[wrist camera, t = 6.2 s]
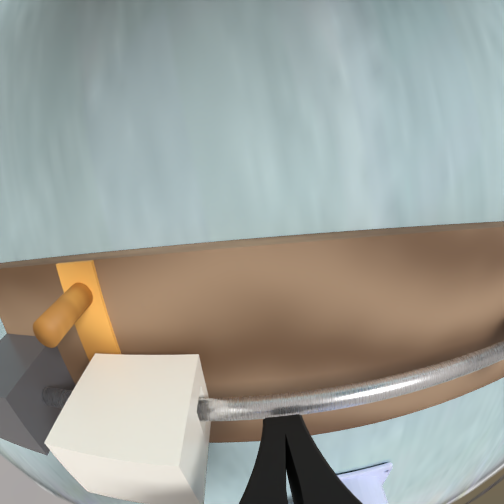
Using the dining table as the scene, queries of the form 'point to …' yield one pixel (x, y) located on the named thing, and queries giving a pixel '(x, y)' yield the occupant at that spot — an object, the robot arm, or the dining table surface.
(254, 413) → the metal rod
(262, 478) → the robot arm
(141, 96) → the dining table surface
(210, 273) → the walnut board
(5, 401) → the connector
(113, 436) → the sleeve
